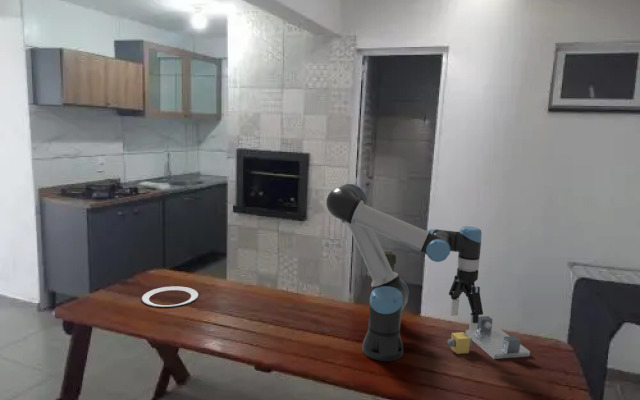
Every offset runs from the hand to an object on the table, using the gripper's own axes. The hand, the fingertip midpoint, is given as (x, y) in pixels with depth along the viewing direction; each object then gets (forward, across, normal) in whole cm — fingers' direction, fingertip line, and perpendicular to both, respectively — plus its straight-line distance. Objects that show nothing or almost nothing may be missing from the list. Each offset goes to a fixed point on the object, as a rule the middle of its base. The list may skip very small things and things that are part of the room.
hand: (463, 322), depth 171 cm
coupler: (+11, 0, 0) cm, 11 cm away
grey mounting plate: (+11, +2, -16) cm, 20 cm away
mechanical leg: (+11, +33, +18) cm, 40 cm away
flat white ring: (+10, +65, +112) cm, 130 cm away
